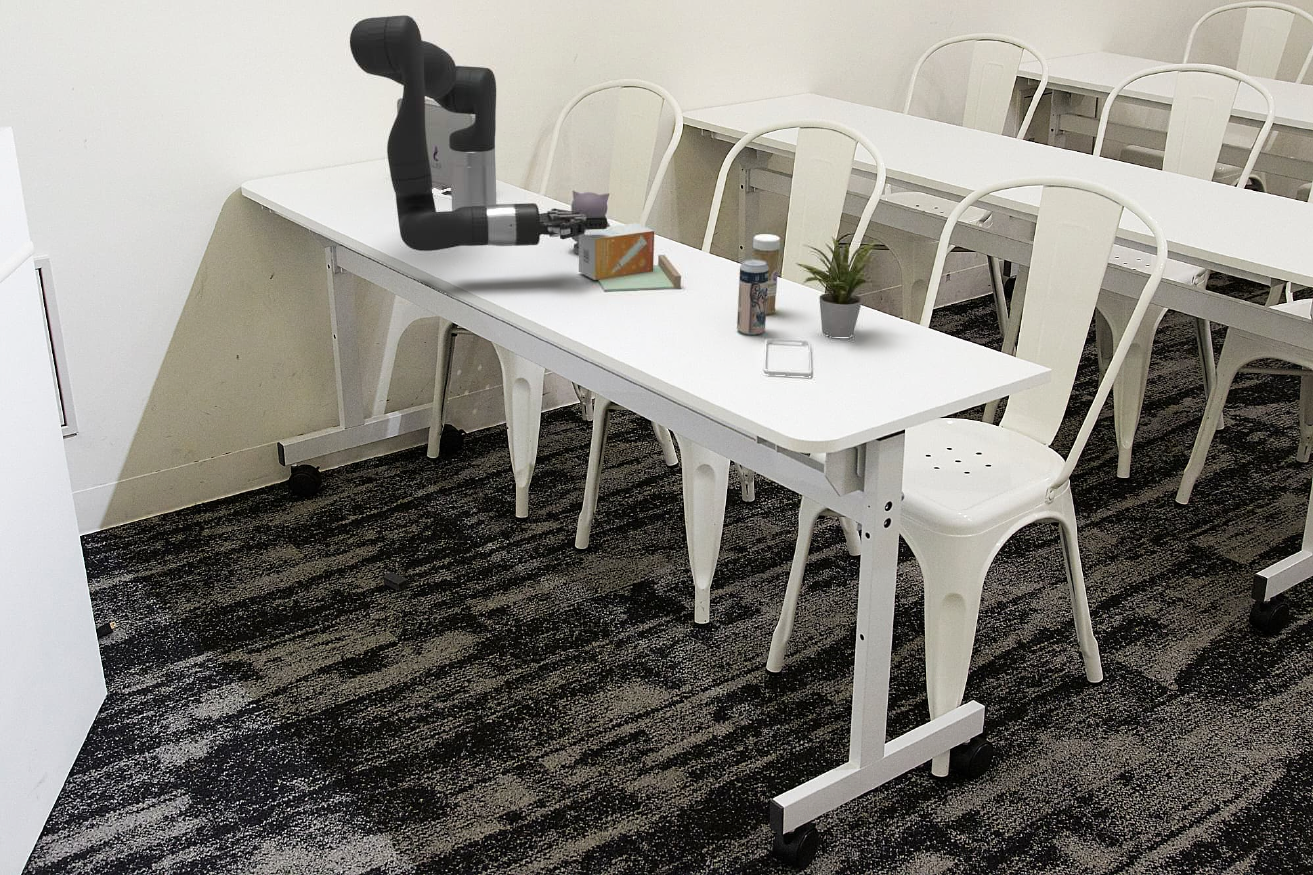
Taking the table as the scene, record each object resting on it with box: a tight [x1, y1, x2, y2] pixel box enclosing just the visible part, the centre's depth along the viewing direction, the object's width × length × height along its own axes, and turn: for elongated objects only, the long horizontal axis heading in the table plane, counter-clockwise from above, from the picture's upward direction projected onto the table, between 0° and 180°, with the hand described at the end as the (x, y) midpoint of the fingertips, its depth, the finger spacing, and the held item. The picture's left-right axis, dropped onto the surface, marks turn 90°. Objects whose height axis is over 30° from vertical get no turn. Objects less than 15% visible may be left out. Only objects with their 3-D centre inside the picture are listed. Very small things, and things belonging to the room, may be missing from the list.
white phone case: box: [763, 338, 813, 377], centre depth 209 cm, size 7×1×15 cm
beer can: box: [736, 258, 769, 336], centre depth 218 cm, size 5×5×12 cm
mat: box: [597, 254, 682, 292], centre depth 246 cm, size 14×14×2 cm
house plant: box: [794, 236, 880, 338], centre depth 219 cm, size 14×14×16 cm
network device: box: [396, 97, 475, 190], centre depth 303 cm, size 26×9×20 cm, turn 50°
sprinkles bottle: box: [752, 233, 781, 316], centre depth 228 cm, size 5×5×13 cm
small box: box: [578, 222, 655, 281], centre depth 247 cm, size 8×6×13 cm
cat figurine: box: [570, 190, 611, 256], centre depth 260 cm, size 8×8×12 cm
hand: (606, 222), depth 241 cm, fingers closed
